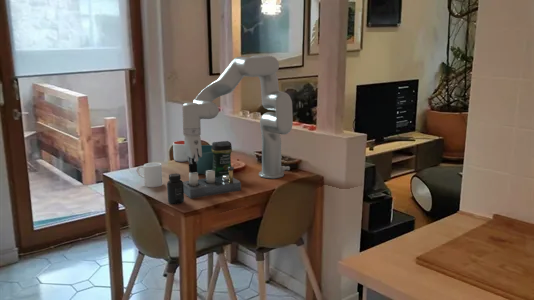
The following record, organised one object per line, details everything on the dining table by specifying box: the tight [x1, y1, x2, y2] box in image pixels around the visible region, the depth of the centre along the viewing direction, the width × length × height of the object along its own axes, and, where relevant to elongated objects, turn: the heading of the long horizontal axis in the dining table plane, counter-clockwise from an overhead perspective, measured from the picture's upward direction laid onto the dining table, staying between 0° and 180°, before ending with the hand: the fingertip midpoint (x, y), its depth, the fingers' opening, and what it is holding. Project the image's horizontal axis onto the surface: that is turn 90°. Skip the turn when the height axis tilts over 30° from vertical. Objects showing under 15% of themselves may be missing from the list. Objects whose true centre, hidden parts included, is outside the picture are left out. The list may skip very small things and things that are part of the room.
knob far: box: [188, 172, 199, 186], centre depth 232 cm, size 4×4×5 cm
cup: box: [172, 140, 189, 163], centre depth 290 cm, size 10×10×10 cm
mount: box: [183, 175, 242, 199], centre depth 236 cm, size 24×13×6 cm, turn 118°
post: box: [228, 165, 235, 183], centre depth 235 cm, size 3×3×7 cm
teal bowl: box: [196, 144, 213, 175], centre depth 266 cm, size 18×18×12 cm
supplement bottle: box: [166, 172, 185, 205], centre depth 220 cm, size 7×7×12 cm
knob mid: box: [205, 170, 215, 183], centre depth 236 cm, size 4×4×5 cm
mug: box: [136, 162, 163, 188], centre depth 245 cm, size 8×12×10 cm
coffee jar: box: [212, 140, 233, 177], centre depth 253 cm, size 10×8×19 cm
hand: (193, 172), depth 231 cm, fingers closed
